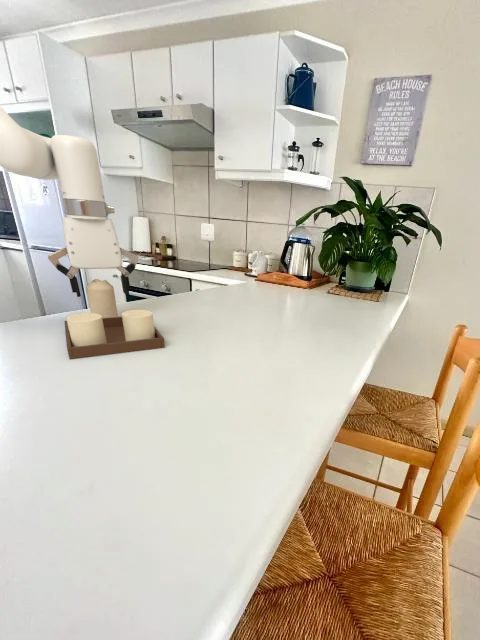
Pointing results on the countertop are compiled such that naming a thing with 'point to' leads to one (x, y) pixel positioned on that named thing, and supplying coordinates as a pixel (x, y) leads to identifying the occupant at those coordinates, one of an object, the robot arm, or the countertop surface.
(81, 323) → the cream candle left
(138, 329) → the cream candle right
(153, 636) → the countertop surface
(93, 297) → the candle
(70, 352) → the tray
